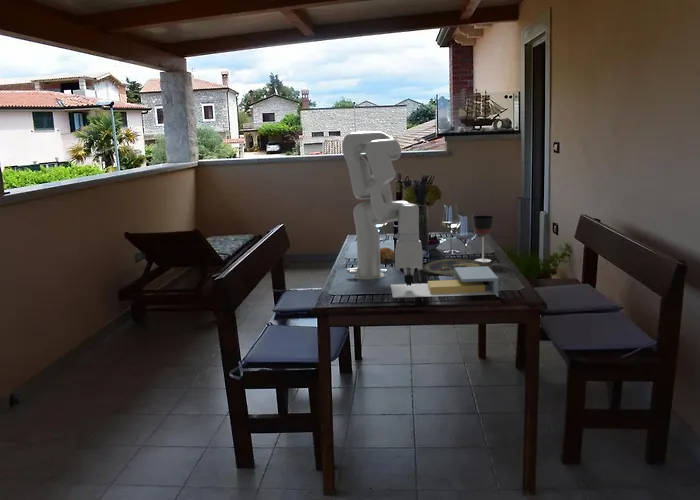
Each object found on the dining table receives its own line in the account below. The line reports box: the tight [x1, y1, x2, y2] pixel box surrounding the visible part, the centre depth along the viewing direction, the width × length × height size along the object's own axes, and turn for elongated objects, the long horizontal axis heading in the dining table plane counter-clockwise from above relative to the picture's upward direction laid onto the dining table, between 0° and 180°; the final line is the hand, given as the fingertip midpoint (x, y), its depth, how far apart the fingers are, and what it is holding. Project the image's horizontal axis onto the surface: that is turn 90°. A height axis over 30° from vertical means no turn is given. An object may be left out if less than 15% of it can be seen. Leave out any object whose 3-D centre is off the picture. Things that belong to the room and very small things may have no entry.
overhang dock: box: [390, 266, 499, 299], centre depth 228 cm, size 38×18×7 cm, turn 89°
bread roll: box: [380, 246, 395, 264], centre depth 284 cm, size 10×10×8 cm
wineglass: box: [472, 215, 494, 263], centre depth 274 cm, size 8×9×20 cm
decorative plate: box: [422, 258, 494, 277], centre depth 261 cm, size 30×2×30 cm
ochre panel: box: [427, 279, 485, 293], centre depth 228 cm, size 20×9×2 cm, turn 90°
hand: (408, 284), depth 229 cm, fingers closed
